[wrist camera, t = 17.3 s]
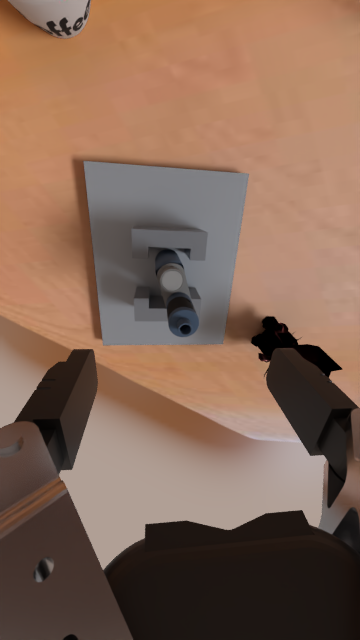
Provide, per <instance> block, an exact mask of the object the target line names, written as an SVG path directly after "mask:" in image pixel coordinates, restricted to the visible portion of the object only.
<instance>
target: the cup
mask: <svg viewBox="0 0 360 640" xmlns="http://www.w3.org/2000/svg"><path fill="white" fill-rule="evenodd" d="M8 1H9V2H10V3H11V4H12V5H13V6H14V7H15V8H16V9H17V10H18V11H19V12H20V13H21V14H22V15H23V16H24V17H25V18H26V19H27V20H29V21H30V22H32V23H33V24H35V25H36V26H38V27H40V28H41V29H43V30H44V31H46V32H47V33H49V34H51V35H52V36H55V37H58V38H63V39H66V38H71V37H74V36H76V35H77V34H79V33H80V32H81V31H82V29H83V28H84V26H85V25H86V22H87V20H88V17H89V12H90V3H91V0H8Z"/></svg>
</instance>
